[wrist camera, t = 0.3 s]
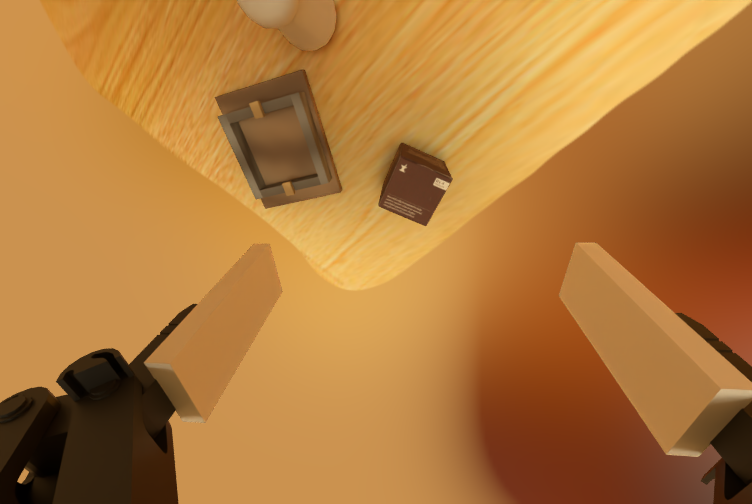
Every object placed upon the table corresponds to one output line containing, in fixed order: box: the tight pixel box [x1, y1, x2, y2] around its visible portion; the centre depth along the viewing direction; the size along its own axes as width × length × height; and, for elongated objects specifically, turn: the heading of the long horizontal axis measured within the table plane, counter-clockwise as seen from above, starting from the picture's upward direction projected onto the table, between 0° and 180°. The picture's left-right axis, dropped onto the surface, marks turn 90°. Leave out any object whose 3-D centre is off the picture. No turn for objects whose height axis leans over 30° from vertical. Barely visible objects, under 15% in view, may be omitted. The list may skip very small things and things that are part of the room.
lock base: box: [215, 70, 342, 209], centre depth 36 cm, size 14×11×4 cm
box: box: [379, 143, 453, 226], centre depth 35 cm, size 6×6×7 cm
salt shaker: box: [237, 0, 337, 51], centre depth 25 cm, size 6×6×13 cm
